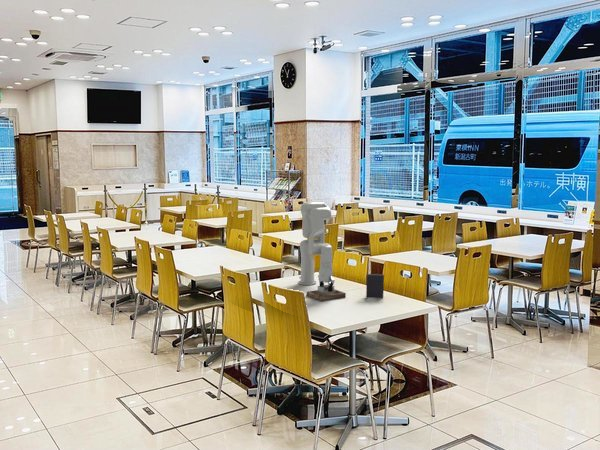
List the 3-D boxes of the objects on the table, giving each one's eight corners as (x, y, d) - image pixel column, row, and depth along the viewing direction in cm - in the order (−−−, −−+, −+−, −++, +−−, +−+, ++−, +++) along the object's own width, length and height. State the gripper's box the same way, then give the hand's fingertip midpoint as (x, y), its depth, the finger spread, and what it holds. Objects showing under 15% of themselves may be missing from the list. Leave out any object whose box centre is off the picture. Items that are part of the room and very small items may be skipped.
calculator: (383, 296, 381) (383, 274, 379) (383, 298, 377) (383, 275, 375) (366, 296, 382) (366, 273, 380) (366, 297, 378) (366, 275, 376)
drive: (317, 295, 379) (317, 286, 378) (329, 293, 384) (329, 284, 383) (321, 296, 375) (321, 287, 374) (334, 294, 380) (334, 285, 379)
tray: (306, 296, 381) (306, 290, 380) (331, 292, 391) (331, 286, 391) (320, 301, 367) (320, 295, 367) (345, 297, 378) (345, 291, 378)
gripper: (314, 262, 382) (313, 288, 384) (329, 267, 367) (328, 293, 370) (323, 261, 386) (323, 286, 388) (338, 266, 371) (338, 292, 374)
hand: (326, 290), depth 379 cm, fingers open, 9 cm apart
